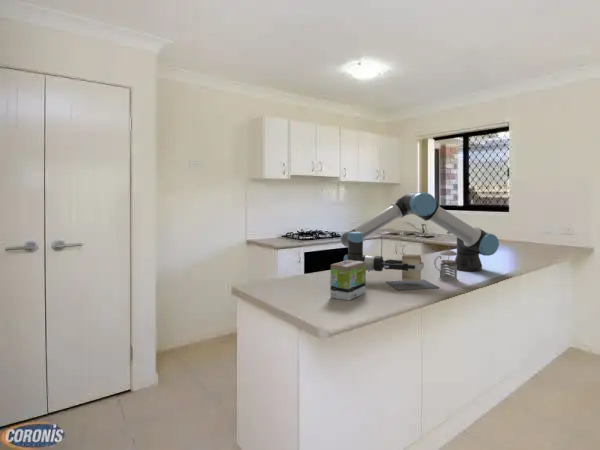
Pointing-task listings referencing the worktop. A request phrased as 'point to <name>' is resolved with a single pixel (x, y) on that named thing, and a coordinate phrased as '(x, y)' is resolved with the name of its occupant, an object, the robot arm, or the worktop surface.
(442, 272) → the french press
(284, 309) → the worktop surface
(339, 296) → the tea box
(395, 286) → the mat
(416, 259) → the birch block
